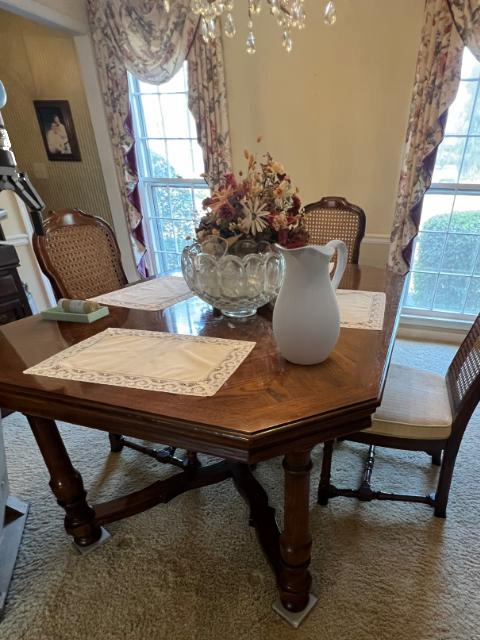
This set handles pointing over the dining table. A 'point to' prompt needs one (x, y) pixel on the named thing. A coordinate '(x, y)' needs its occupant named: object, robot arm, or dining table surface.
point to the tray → (74, 315)
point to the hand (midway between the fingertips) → (22, 238)
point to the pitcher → (309, 303)
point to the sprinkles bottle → (77, 306)
